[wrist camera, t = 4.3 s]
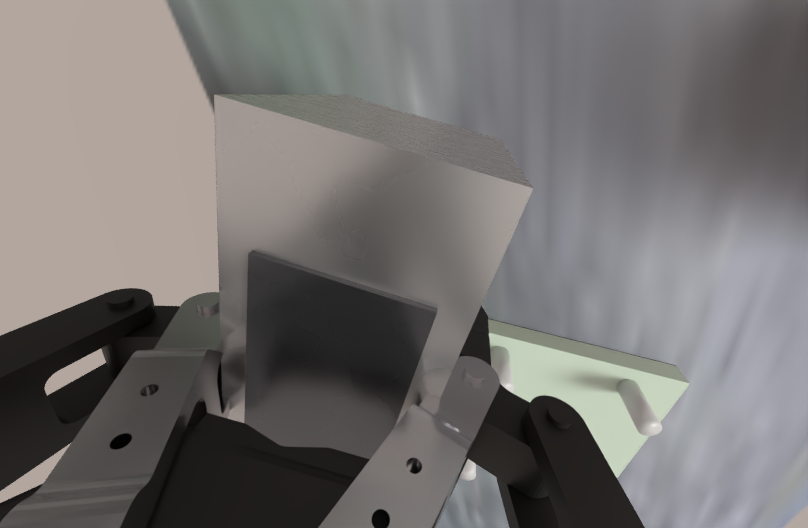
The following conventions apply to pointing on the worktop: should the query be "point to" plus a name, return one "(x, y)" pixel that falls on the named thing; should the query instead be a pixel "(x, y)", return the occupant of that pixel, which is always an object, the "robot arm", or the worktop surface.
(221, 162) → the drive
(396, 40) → the worktop surface
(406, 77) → the worktop surface
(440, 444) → the robot arm
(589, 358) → the pale green pegged board
